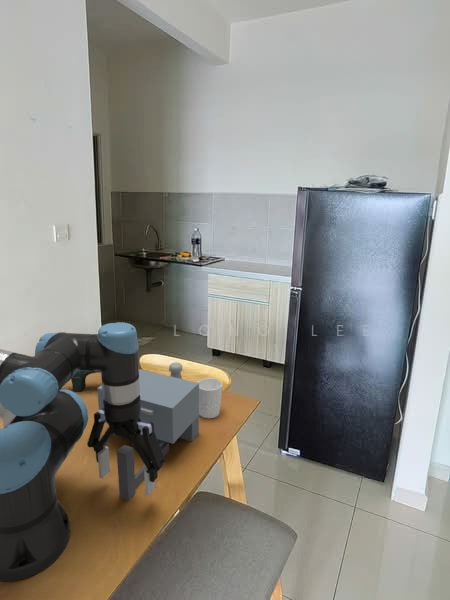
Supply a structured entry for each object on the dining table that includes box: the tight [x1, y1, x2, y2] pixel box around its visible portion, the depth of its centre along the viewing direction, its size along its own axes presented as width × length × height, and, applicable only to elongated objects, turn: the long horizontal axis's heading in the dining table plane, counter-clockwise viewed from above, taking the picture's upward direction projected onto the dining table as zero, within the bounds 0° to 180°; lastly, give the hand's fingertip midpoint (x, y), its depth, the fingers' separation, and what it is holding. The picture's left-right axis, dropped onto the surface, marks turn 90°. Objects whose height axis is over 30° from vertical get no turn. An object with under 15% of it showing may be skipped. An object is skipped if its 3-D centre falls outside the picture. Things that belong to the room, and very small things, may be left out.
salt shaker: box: [168, 361, 183, 379], centre depth 123 cm, size 6×6×13 cm
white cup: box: [196, 377, 223, 419], centre depth 117 cm, size 8×8×10 cm
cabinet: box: [96, 368, 200, 444], centre depth 103 cm, size 15×23×16 cm, turn 67°
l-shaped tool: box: [116, 442, 170, 501], centre depth 91 cm, size 18×2×12 cm, turn 157°
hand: (127, 482), depth 84 cm, fingers open, 12 cm apart
